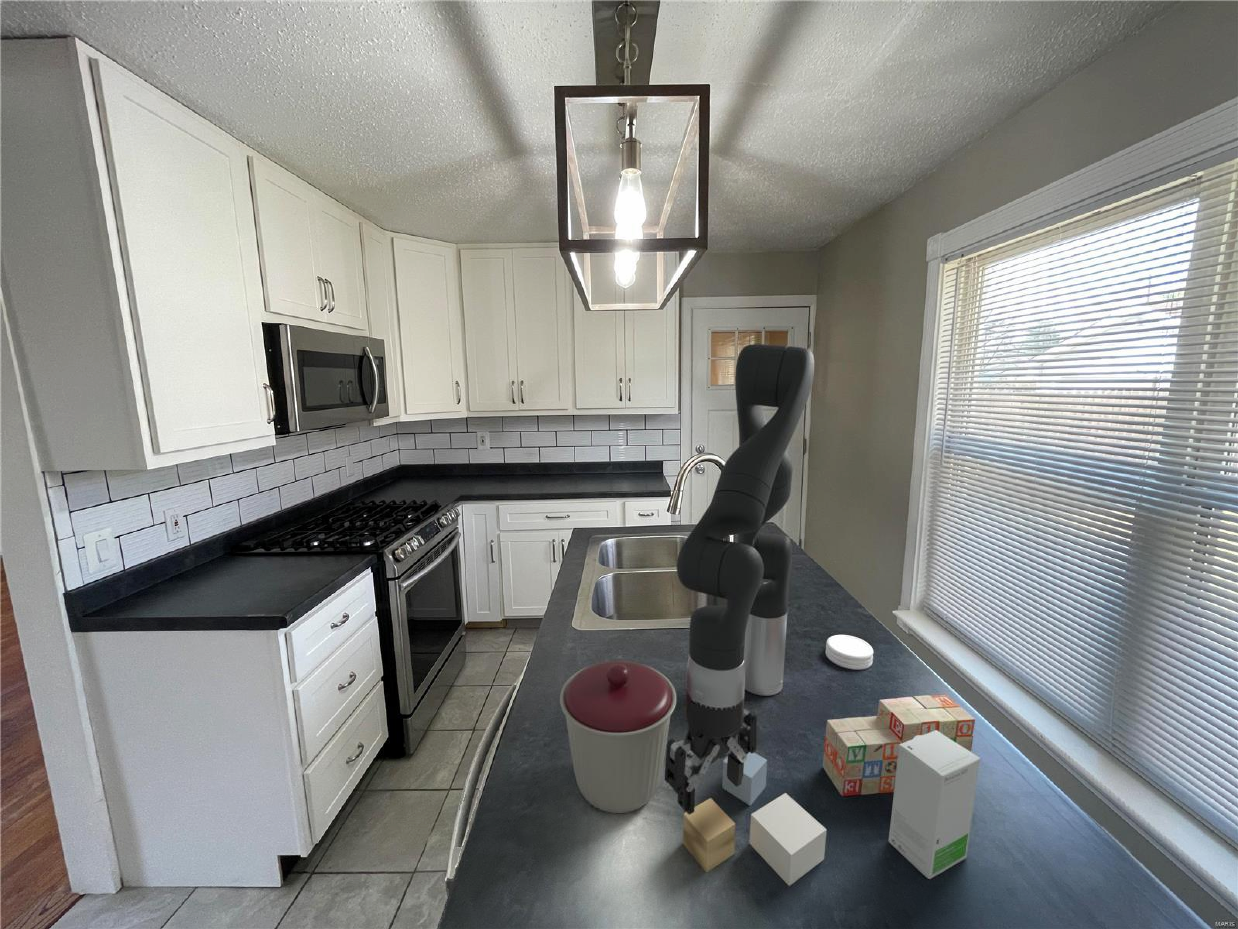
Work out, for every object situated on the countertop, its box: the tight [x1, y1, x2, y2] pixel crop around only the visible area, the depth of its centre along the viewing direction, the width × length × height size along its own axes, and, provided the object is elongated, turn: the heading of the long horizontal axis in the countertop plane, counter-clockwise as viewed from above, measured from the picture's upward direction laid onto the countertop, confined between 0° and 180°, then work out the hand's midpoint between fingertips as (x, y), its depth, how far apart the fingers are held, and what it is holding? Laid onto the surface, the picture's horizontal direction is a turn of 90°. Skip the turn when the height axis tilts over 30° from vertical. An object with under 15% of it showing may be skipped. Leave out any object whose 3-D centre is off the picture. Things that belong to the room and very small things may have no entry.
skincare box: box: [887, 730, 981, 880], centre depth 69 cm, size 8×7×16 cm
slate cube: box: [721, 752, 768, 807], centre depth 80 cm, size 5×5×5 cm
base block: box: [749, 792, 827, 887], centre depth 69 cm, size 7×7×5 cm
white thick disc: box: [825, 634, 874, 670], centre depth 117 cm, size 10×10×4 cm
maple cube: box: [682, 797, 736, 873], centre depth 70 cm, size 5×5×5 cm
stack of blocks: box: [822, 694, 976, 797], centre depth 82 cm, size 21×6×12 cm, turn 96°
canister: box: [559, 659, 677, 814], centre depth 79 cm, size 18×18×21 cm
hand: (711, 795), depth 68 cm, fingers open, 8 cm apart
